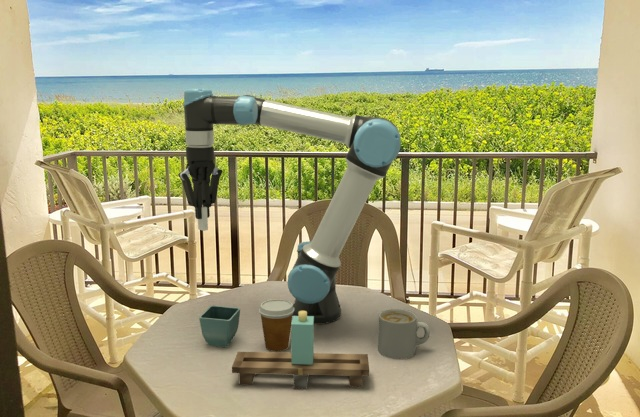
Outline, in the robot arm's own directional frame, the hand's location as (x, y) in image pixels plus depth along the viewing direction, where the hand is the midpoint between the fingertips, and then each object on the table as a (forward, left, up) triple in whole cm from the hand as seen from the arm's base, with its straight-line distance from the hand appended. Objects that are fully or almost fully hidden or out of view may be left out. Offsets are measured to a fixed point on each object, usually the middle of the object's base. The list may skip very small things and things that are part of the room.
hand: (203, 229), depth 162 cm
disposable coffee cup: (-7, +24, -30) cm, 39 cm away
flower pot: (+3, +12, -30) cm, 32 cm away
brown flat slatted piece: (0, +42, -29) cm, 51 cm away
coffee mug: (-30, +49, -30) cm, 65 cm away
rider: (0, +42, -26) cm, 49 cm away
